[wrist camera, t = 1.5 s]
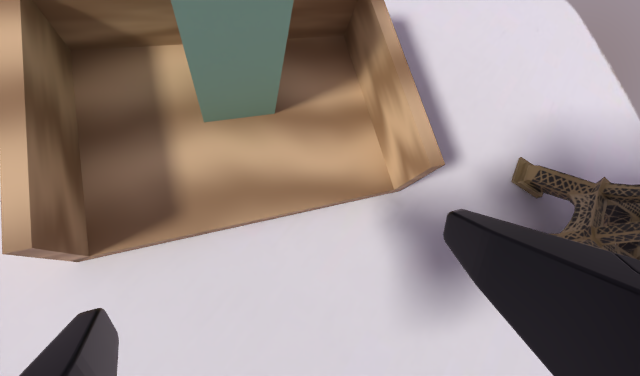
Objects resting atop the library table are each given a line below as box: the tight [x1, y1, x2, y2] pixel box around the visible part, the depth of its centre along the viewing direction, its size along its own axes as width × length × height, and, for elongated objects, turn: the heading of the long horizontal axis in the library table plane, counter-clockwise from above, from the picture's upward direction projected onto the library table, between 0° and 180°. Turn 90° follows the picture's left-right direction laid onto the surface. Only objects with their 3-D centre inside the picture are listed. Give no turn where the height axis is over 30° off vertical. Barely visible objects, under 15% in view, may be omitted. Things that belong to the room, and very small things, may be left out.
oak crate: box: [0, 0, 445, 262], centre depth 20 cm, size 15×22×6 cm
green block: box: [171, 0, 294, 122], centre depth 17 cm, size 5×5×12 cm
